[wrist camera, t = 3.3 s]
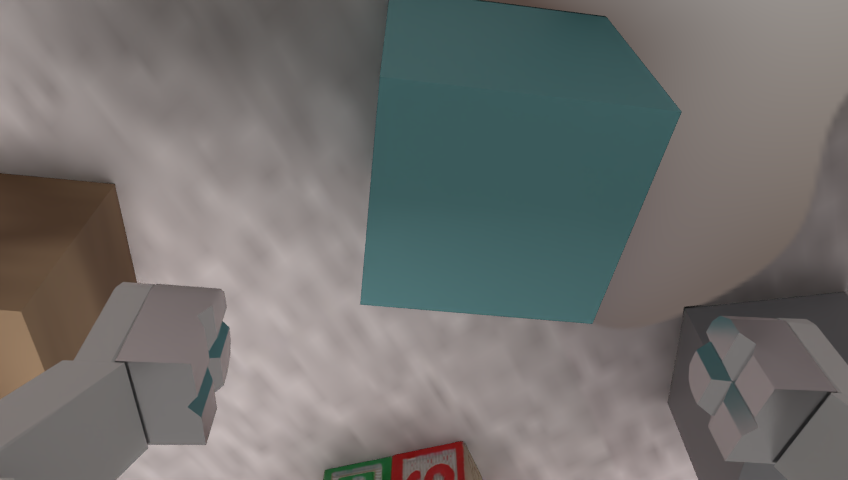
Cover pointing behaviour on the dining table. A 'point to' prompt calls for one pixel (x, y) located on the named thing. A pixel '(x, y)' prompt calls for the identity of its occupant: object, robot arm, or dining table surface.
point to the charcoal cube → (832, 313)
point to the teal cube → (507, 159)
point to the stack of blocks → (414, 466)
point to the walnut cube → (55, 269)
